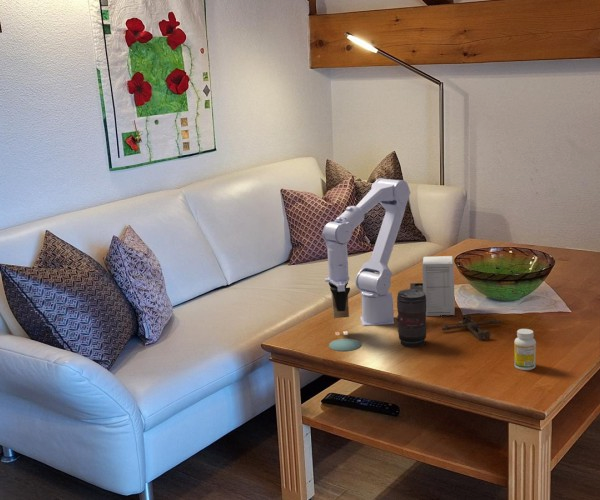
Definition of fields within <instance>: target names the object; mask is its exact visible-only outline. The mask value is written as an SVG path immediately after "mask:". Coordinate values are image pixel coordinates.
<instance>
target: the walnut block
mask: <svg viewBox="0 0 600 500" xmlns="http://www.w3.org/2000/svg"><path fill="white" fill-rule="evenodd" d="M330 293H331V310H332V316H333V319H341V318H349V317H350V315H349V314H350V312H349V295H348V296H347V300H346V307H345V311H338V310H337V307H336V303H335V298H334V296H333V294H332V292H331V291H330Z"/></svg>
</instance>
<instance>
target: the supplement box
mask: <svg viewBox="0 0 600 500" xmlns="http://www.w3.org/2000/svg"><path fill="white" fill-rule="evenodd" d="M421 268H422V283H423V291H424V292H425V294H426V317H443V316H442V315H454V316H455V307H456V306H455V278H454V277H455V275H454V261H453V255H443V256H439V255H438V256H423V259H422V267H421ZM440 315H441V316H440Z"/></svg>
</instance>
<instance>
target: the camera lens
mask: <svg viewBox="0 0 600 500" xmlns="http://www.w3.org/2000/svg"><path fill="white" fill-rule="evenodd" d="M396 308H397V309H396V310H397V316H396V323H397V333H398V338H399V340H400V345H402V346H403V347H407V348H419V347H423V346H424V345H425V343H426V338H427V316H426V294H425V292H424V291H421V290H417V289H410V288H408V289H407V288H406V289H401V290H400V291H399V290H398V292H397V297H396Z"/></svg>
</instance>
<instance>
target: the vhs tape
mask: <svg viewBox="0 0 600 500" xmlns="http://www.w3.org/2000/svg"><path fill="white" fill-rule="evenodd" d="M409 289H417V290H421V291H423V282H417V283H416V282H415V283H414V282H413V283H410V284H409Z"/></svg>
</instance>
